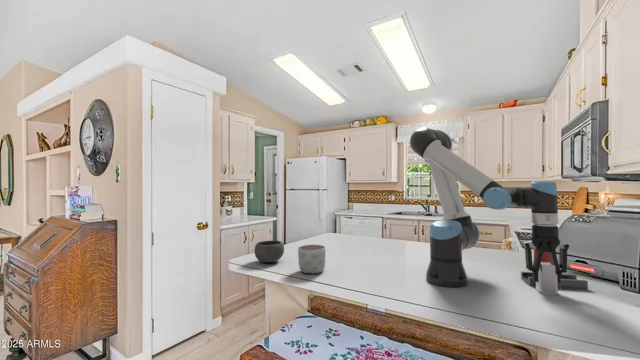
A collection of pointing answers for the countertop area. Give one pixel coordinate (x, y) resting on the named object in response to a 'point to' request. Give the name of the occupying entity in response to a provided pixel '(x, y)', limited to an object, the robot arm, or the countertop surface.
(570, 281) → the dark grey tray
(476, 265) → the countertop surface
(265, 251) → the bowl
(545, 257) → the beer can
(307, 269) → the planter
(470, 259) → the countertop surface
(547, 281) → the grey rectangular block
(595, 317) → the countertop surface
